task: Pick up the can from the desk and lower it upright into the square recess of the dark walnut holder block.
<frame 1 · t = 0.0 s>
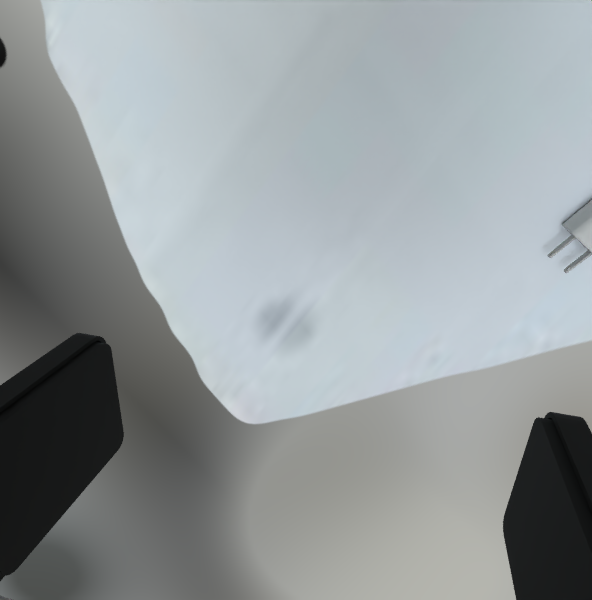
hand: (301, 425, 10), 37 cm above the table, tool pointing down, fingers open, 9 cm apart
usb wall charger: (583, 230, 41), on the table
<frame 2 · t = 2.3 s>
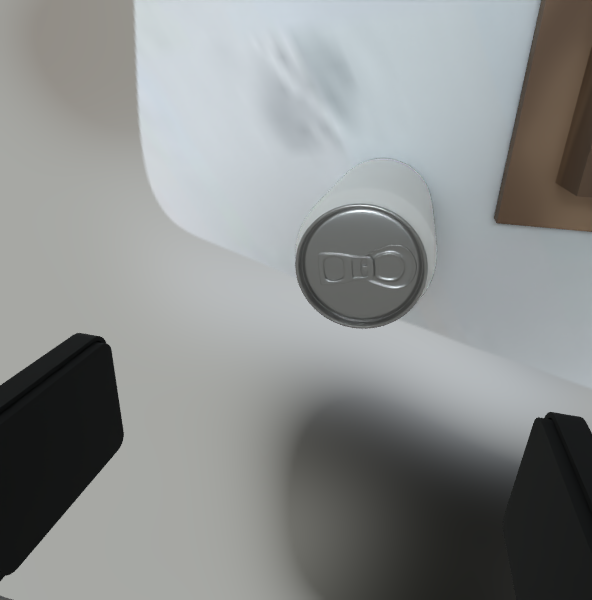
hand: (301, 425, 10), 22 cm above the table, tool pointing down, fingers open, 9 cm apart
can: (381, 207, 30), on the table
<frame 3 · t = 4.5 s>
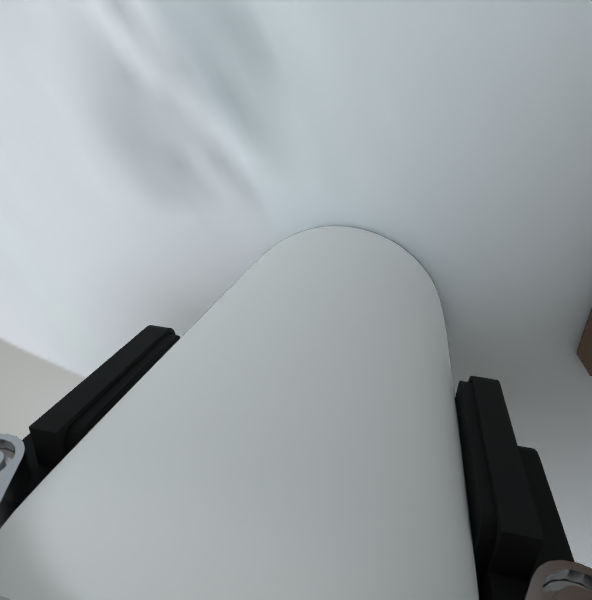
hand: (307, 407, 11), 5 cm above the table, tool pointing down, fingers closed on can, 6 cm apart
can: (340, 317, 15), on the table, touching gripper
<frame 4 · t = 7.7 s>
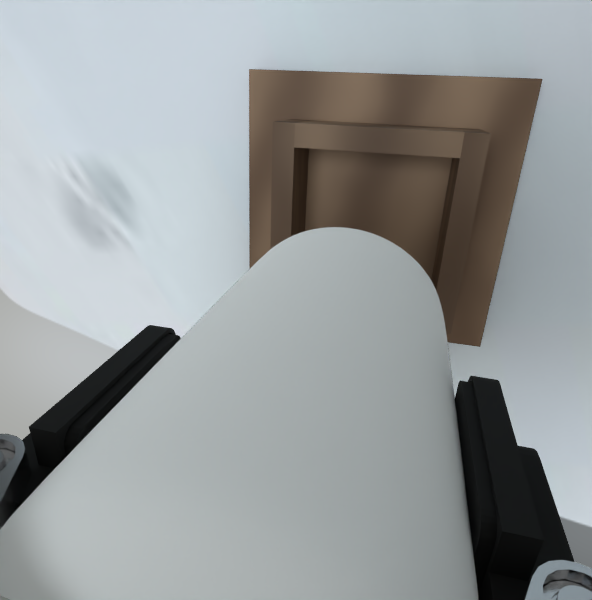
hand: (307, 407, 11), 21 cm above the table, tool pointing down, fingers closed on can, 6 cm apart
can: (340, 318, 15), point 16 cm above the table, touching gripper
holder: (373, 212, 30), on the table
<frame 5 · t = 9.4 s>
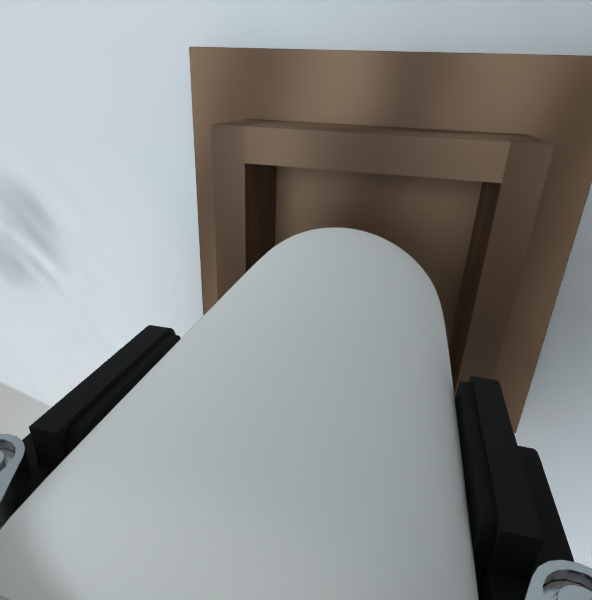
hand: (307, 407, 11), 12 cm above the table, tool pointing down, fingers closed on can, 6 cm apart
can: (340, 318, 15), point 7 cm above the table, touching gripper
holder: (368, 247, 21), on the table
when the fingers open (8 cm above the table, at t = 10.8 s): can drops 2 cm, resting on holder.
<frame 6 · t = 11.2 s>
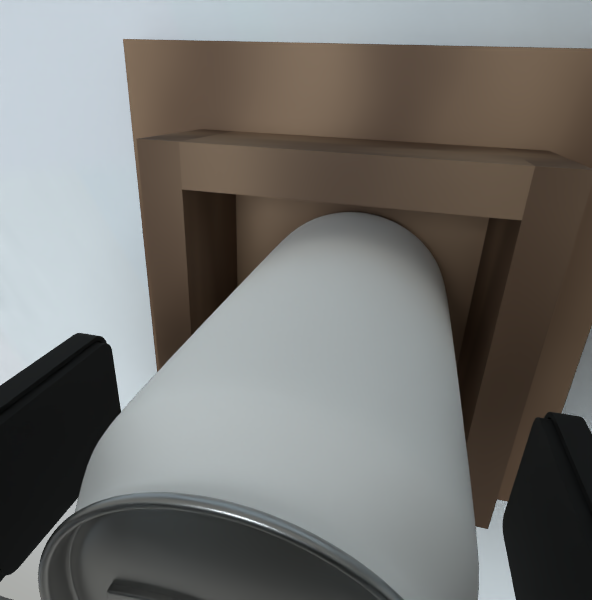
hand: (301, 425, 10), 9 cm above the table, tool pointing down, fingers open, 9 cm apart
can: (353, 295, 17), point 1 cm above the table, touching holder
holder: (351, 284, 18), on the table
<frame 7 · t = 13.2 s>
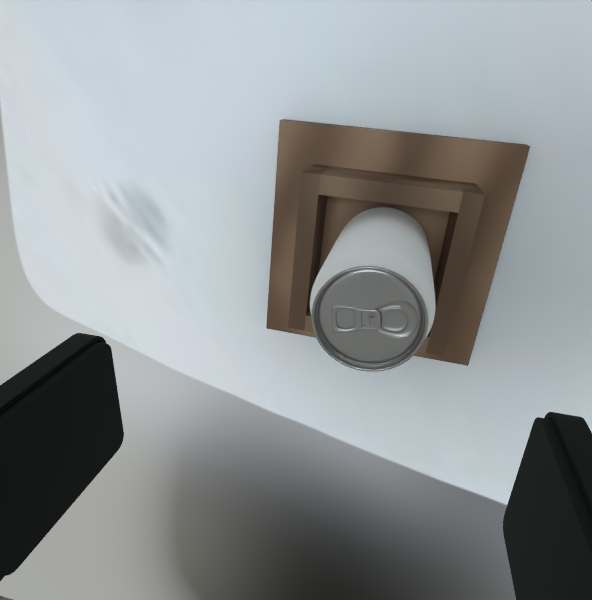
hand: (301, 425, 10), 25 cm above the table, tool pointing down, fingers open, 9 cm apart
can: (382, 249, 33), point 1 cm above the table, touching holder
holder: (380, 245, 34), on the table
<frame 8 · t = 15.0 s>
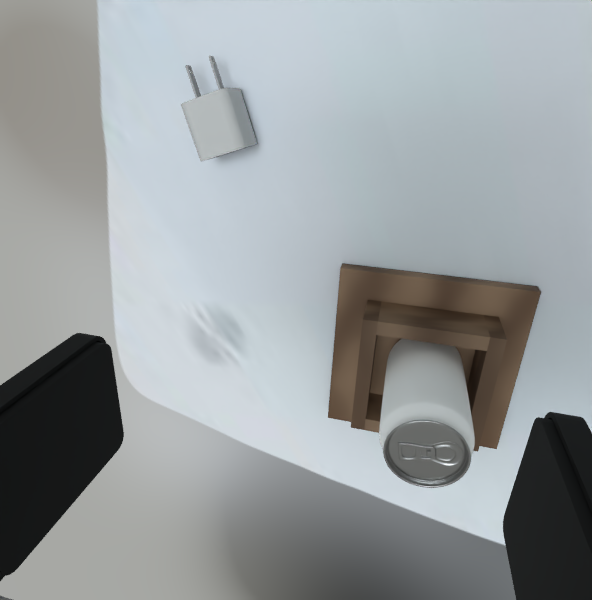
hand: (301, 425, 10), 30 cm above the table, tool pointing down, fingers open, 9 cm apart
can: (424, 361, 41), point 1 cm above the table, touching holder
usb wall charger: (225, 107, 38), on the table
holder: (421, 355, 42), on the table
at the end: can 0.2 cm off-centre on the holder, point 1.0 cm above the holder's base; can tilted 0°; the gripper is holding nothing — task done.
